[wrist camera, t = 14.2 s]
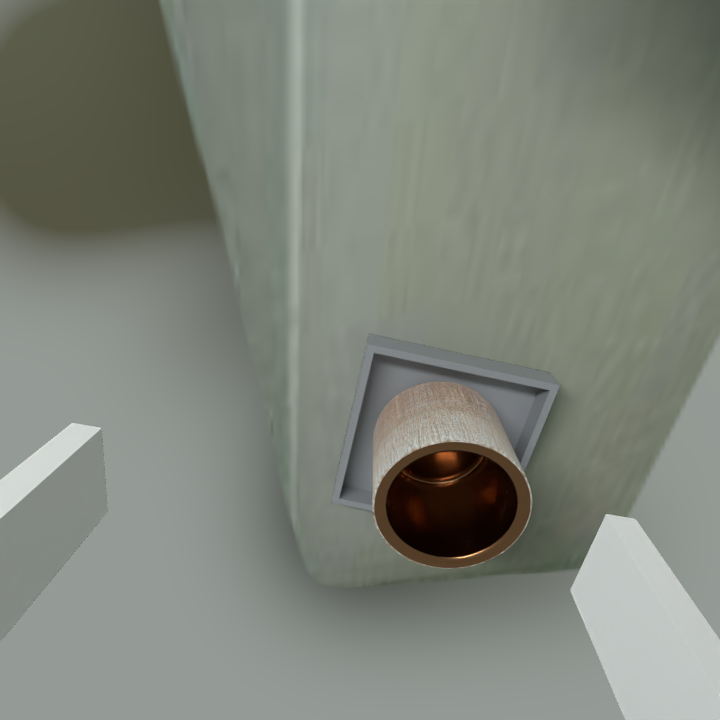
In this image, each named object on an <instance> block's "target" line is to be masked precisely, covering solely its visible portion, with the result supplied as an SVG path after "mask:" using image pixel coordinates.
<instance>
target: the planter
mask: <svg viewBox="0 0 720 720" xmlns="http://www.w3.org/2000/svg"><path fill="white" fill-rule="evenodd" d="M372 509H373V517H374V521H375V524H376V527H377V529H378V531H379V533H380V534H381V536H382V537H383V539H384V540H385V541H386V543H387V544H388V545H389V546H390V547H391V548H392V549H394V550H395V551H396V552H397V553H399V554H400V555H402V556H403V557H405V558H407V559H409V560H411V561H413V562H416V563H418V564H421V565H425V566H429V567H434V568H443V569H456V568H465V567H470V566H474V565H478V564H481V563H484V562H486V561H489V560H491V559H493V558H495V557H497V556H499V555H500V554H502V553H503V552H505V551H506V550H507V549H508V548H510V547H511V546H512V545H513V544H514V543H515V542H516V541H517V540H518V538H519V537H520V536H521V535H522V533H523V532H524V530H525V528H526V526H527V524H528V522H529V519H530V516H531V511H532V492H531V488H530V485H529V482H528V480H527V477H526V475H525V473H524V471H523V469H522V467H521V465H520V463H519V460H518V458H517V456H516V454H515V452H514V450H513V448H512V445H511V443H510V441H509V439H508V436H507V434H506V432H505V430H504V428H503V425H502V423H501V421H500V419H499V417H498V415H497V413H496V411H495V410H494V408H493V407H492V406H491V405H490V403H489V402H488V401H487V400H486V399H485V398H484V397H483V396H481V395H480V394H479V393H477V392H476V391H474V390H472V389H470V388H468V387H466V386H463V385H460V384H457V383H452V382H444V381H435V382H427V383H422V384H418V385H415V386H412V387H410V388H408V389H406V390H404V391H402V392H401V393H399V394H398V395H396V396H395V397H394V398H393V399H392V400H391V401H390V402H389V403H388V404H387V405H386V406H385V407H384V409H383V410H382V412H381V413H380V415H379V417H378V420H377V422H376V426H375V429H374V434H373V496H372Z"/></svg>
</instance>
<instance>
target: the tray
mask: <svg viewBox="0 0 720 720" xmlns="http://www.w3.org/2000/svg"><path fill="white" fill-rule="evenodd" d="M435 381H444V382H452V383H457V384H460V385H463V386H466V387H468V388H470V389H472V390H474V391H476V392H477V393H479V394H480V395H481V396H483V397H484V398H485V399H486V400H487V401H488V402H489V403H490V405H491V406H492V407H493V408H494V410H495V411H496V413H497V415H498V417H499V419H500V421H501V423H502V425H503V428H504V430H505V432H506V434H507V436H508V439H509V441H510V443H511V445H512V448H513V450H514V452H515V454H516V456H517V458H518V460H519V463H520V465H521V467H522V469H523V471H524V472H525V469H526V467H527V465H528V462H529V460H530V457H531V455H532V452H533V450H534V448H535V445H536V443H537V440H538V438H539V435H540V433H541V431H542V428H543V426H544V423H545V421H546V418H547V416H548V414H549V411H550V409H551V406H552V404H553V401H554V399H555V397H556V394H557V392H558V389H559V387H560V384H559V383H558V382H557V381H556V380H555V379H554V377H553V376H552V375H551V374H550V373H549V372H544V371H540V370H535V369H530V368H526V367H521V366H516V365H512V364H507V363H503V362H498V361H493V360H489V359H484V358H479V357H475V356H470V355H465V354H461V353H456V352H451V351H447V350H442V349H437V348H433V347H428V346H423V345H419V344H414V343H410V342H405V341H400V340H396V339H391V338H386V337H382V336H377V335H372V334H369V335H368V339H367V344H366V348H365V352H364V357H363V361H362V366H361V370H360V374H359V379H358V383H357V387H356V392H355V396H354V400H353V405H352V409H351V413H350V418H349V422H348V426H347V431H346V435H345V440H344V444H343V448H342V453H341V457H340V461H339V466H338V470H337V474H336V479H335V483H334V488H333V495H332V501H331V503H335V504H340V505H345V506H350V507H355V508H360V509H365V510H370V511H373V509H372V496H373V434H374V429H375V426H376V422H377V420H378V417H379V415H380V413H381V412H382V410H383V409H384V407H385V406H386V405H387V404H388V403H389V402H390V401H391V400H392V399H393V398H394V397H395V396H396V395H398V394H399V393H401V392H402V391H404V390H406V389H408V388H410V387H412V386H415V385H418V384H422V383H427V382H435Z"/></svg>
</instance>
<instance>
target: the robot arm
mask: <svg viewBox="0 0 720 720" xmlns="http://www.w3.org/2000/svg"><path fill="white" fill-rule="evenodd" d="M107 512H108V507H107V493H106V479H105V466H104V452H103V438H102V428H99V427H93V426H87V425H81V424H75V423H72V424H70V425H69V426H68V427H67V428H65V429H64V430H63V431H62V432H60V433H59V434H58V435H56V436H55V437H54V438H53V439H52V440H50V441H49V442H48V443H47V444H45V445H44V446H43V447H41V448H40V449H39V450H38V451H36V452H35V453H34V454H33V455H31V456H30V457H29V458H28V459H26V460H25V461H24V462H23V463H21V464H20V465H19V466H18V467H16V468H15V469H14V470H13V471H11V472H10V473H9V474H8V475H6V476H5V477H4V478H3V479H1V480H0V642H1V641H2V639H3V638H4V637H5V636H6V635H7V633H8V632H9V631H10V630H11V629H12V627H13V626H14V625H15V624H16V623H17V621H18V620H19V619H20V618H21V617H22V615H23V614H24V613H25V612H26V610H27V609H28V608H29V607H30V606H31V604H32V603H33V602H34V601H35V599H36V598H37V597H38V596H39V595H40V593H41V592H42V591H43V590H44V589H45V587H46V586H47V585H48V584H49V582H50V581H51V580H52V579H53V578H54V576H55V575H56V574H57V573H58V572H59V570H60V569H61V568H62V567H63V566H64V564H65V563H66V562H67V561H68V560H69V558H70V557H71V556H72V555H73V554H74V552H75V551H76V550H77V549H78V547H79V546H80V545H81V544H82V543H83V541H84V540H85V539H86V538H87V537H88V535H89V534H90V533H91V532H92V531H93V529H94V528H95V527H96V526H97V524H98V523H99V522H100V521H101V520H102V518H103V517H104V516H105V515H106V513H107ZM570 591H571V594H572V596H573V598H574V600H575V603H576V605H577V608H578V610H579V612H580V615H581V617H582V619H583V622H584V624H585V627H586V629H587V631H588V633H589V636H590V638H591V640H592V643H593V645H594V648H595V650H596V652H597V655H598V657H599V659H600V662H601V664H602V667H603V669H604V671H605V673H606V676H607V678H608V681H609V683H610V685H611V688H612V690H613V692H614V695H615V697H616V700H617V702H618V704H619V706H620V709H621V711H622V714H623V716H624V718H625V720H720V640H719V638H718V637H717V635H716V634H715V632H714V631H713V630H712V628H711V627H710V625H709V624H708V622H707V621H706V620H705V618H704V617H703V615H702V614H701V612H700V611H699V609H698V608H697V607H696V605H695V604H694V602H693V601H692V599H691V598H690V597H689V595H688V594H687V593H686V591H685V589H684V588H683V586H682V585H681V584H680V582H679V581H678V580H677V578H676V577H675V575H674V574H673V572H672V571H671V569H670V568H669V566H668V565H667V564H666V562H665V561H664V559H663V558H662V556H661V555H660V554H659V552H658V551H657V549H656V548H655V546H654V545H653V543H652V542H651V541H650V539H649V538H648V536H647V535H646V534H645V532H644V531H643V529H642V528H641V526H640V525H639V523H638V522H637V520H636V519H632V518H627V517H621V516H615V515H609V514H606V515H605V518H604V520H603V522H602V524H601V526H600V528H599V530H598V532H597V535H596V537H595V539H594V541H593V543H592V545H591V547H590V549H589V552H588V554H587V556H586V558H585V560H584V562H583V564H582V566H581V569H580V571H579V573H578V575H577V577H576V579H575V582H574V583H573V586H572V588H571V590H570Z"/></svg>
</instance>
